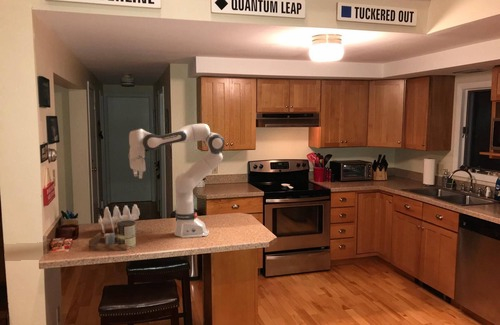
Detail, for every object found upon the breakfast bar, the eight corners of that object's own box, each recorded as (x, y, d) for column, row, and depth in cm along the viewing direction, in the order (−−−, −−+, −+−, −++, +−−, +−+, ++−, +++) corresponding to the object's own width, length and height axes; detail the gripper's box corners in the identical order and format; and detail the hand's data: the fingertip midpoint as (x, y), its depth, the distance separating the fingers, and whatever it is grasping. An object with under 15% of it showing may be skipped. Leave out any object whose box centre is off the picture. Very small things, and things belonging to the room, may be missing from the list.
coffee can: (115, 249, 227) (114, 225, 226) (120, 243, 237) (119, 220, 236) (134, 248, 228) (133, 224, 227) (137, 243, 238) (136, 220, 237)
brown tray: (134, 241, 241) (133, 232, 240) (126, 250, 225) (126, 240, 224) (99, 242, 240) (98, 232, 240) (89, 250, 224) (88, 240, 224)
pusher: (114, 242, 238) (114, 231, 238) (108, 248, 226) (107, 237, 226) (108, 242, 238) (108, 231, 238) (101, 248, 226) (101, 237, 226)
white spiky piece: (99, 238, 262) (138, 231, 273) (101, 233, 247) (142, 226, 258) (96, 211, 267) (134, 206, 278) (97, 204, 252) (137, 199, 263)
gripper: (147, 156, 236) (148, 179, 237) (137, 153, 253) (138, 175, 254) (137, 156, 232) (138, 179, 234) (127, 154, 249) (128, 176, 251)
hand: (138, 177), depth 244 cm, fingers open, 8 cm apart
